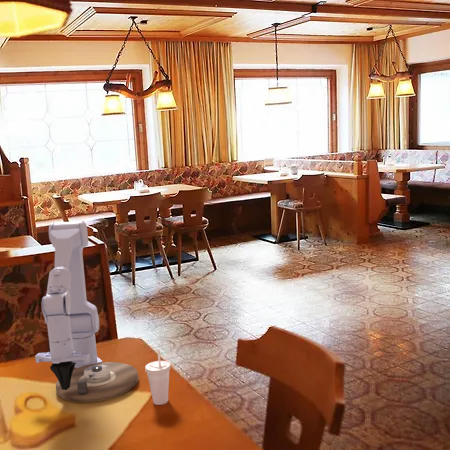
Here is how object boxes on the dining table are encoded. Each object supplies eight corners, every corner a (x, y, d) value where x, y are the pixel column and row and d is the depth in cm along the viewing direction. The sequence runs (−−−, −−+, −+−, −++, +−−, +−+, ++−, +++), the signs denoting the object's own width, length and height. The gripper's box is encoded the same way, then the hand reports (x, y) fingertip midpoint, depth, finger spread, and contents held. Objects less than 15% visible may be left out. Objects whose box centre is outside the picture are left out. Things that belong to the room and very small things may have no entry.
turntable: (45, 381, 165) (44, 366, 164) (119, 360, 177) (117, 346, 176) (72, 410, 147) (70, 393, 146) (151, 385, 158) (150, 369, 158)
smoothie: (169, 407, 146) (164, 354, 144) (144, 406, 148) (139, 353, 145) (176, 396, 152) (172, 344, 150) (152, 395, 154) (148, 344, 151)
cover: (80, 377, 163) (79, 367, 162) (104, 370, 166) (103, 360, 166) (90, 386, 157) (89, 375, 156) (114, 378, 161) (113, 368, 160)
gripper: (26, 343, 149) (32, 394, 152) (79, 345, 146) (85, 396, 149) (40, 334, 156) (46, 382, 159) (91, 334, 153) (96, 384, 155)
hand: (66, 388), depth 154 cm, fingers closed
